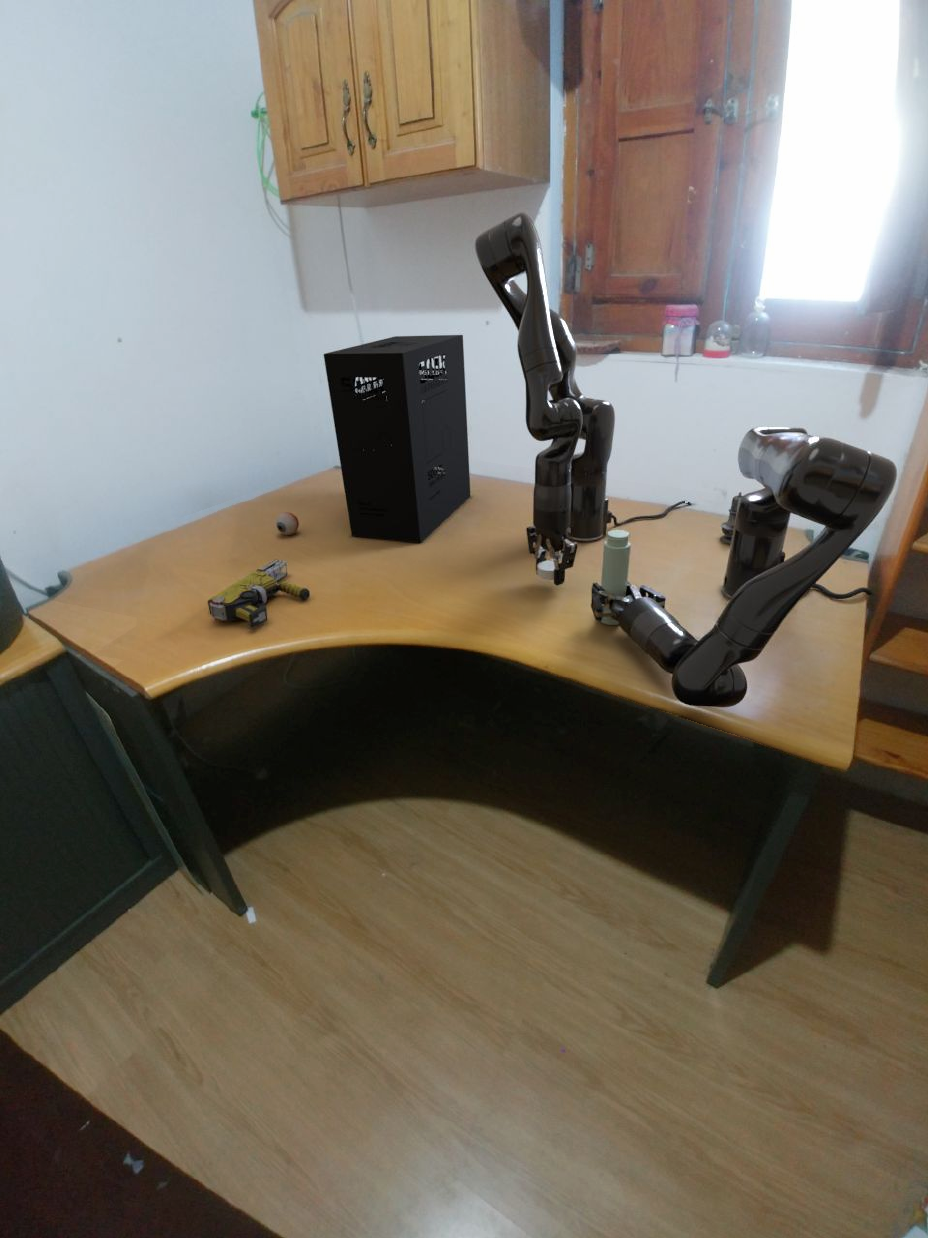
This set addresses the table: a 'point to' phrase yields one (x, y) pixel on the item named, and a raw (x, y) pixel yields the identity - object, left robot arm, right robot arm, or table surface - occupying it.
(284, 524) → the eyeball
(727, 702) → the right robot arm
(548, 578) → the lid
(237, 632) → the table surface
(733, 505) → the salt shaker
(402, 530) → the cardboard box
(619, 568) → the jar
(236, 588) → the toy gun
